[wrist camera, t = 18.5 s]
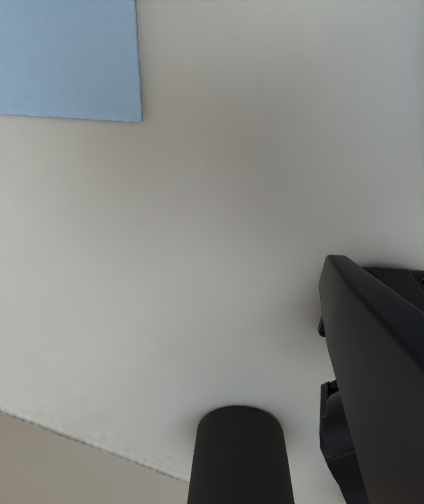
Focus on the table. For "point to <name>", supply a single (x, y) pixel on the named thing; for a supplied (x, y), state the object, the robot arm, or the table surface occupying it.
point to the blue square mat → (70, 59)
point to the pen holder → (240, 460)
